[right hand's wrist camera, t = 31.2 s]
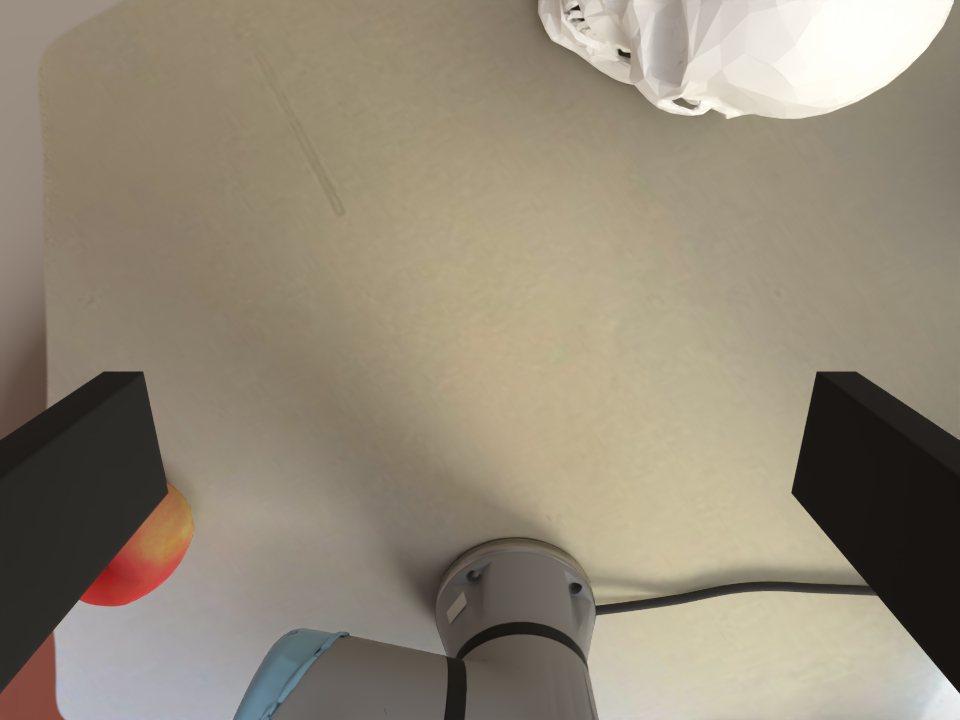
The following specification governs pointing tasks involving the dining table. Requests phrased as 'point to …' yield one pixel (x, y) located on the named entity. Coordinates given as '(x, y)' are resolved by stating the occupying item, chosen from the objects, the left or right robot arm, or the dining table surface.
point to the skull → (748, 49)
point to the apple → (146, 554)
